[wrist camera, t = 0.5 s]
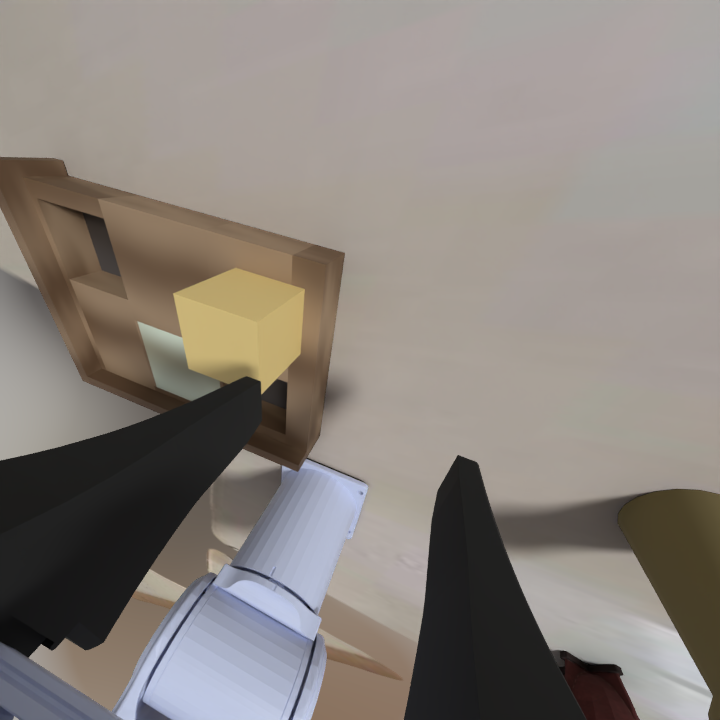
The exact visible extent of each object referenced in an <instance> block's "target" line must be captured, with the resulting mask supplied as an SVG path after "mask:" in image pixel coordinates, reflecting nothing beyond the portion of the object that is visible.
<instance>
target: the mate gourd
mask: <svg viewBox="0 0 720 720" xmlns="http://www.w3.org/2000/svg"><path fill="white" fill-rule="evenodd" d="M560 657H561V658H562V659H563V660H565V667H559V669H560V671H561V672H562V674H563V676H564V678H565V680H566V682H567V684H568V685H569V687H570V689H571V691H572V693H573V695H574V697H575V698H576V700H577V702H578V704H579V706H580V708H581V710H582V711H583V713H584V715H585V717H586V719H587V720H640V719H639V718H638V716H637V714H636V711H635V708H634V706H633V704H632V702H631V700H630V697H629V695H628V693H627V691H626V689H625V687H624V685H623V683H622V681H621V678H620V676H622V675H623V673H622V670H621V668H620V667H618V666H617V665H587V664H585V663H584V662H582V661H581V660H579V659H578V658H576V657H575V656H573V655H571V654H570V653H568V652H567V651H561V652H560Z"/></svg>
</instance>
